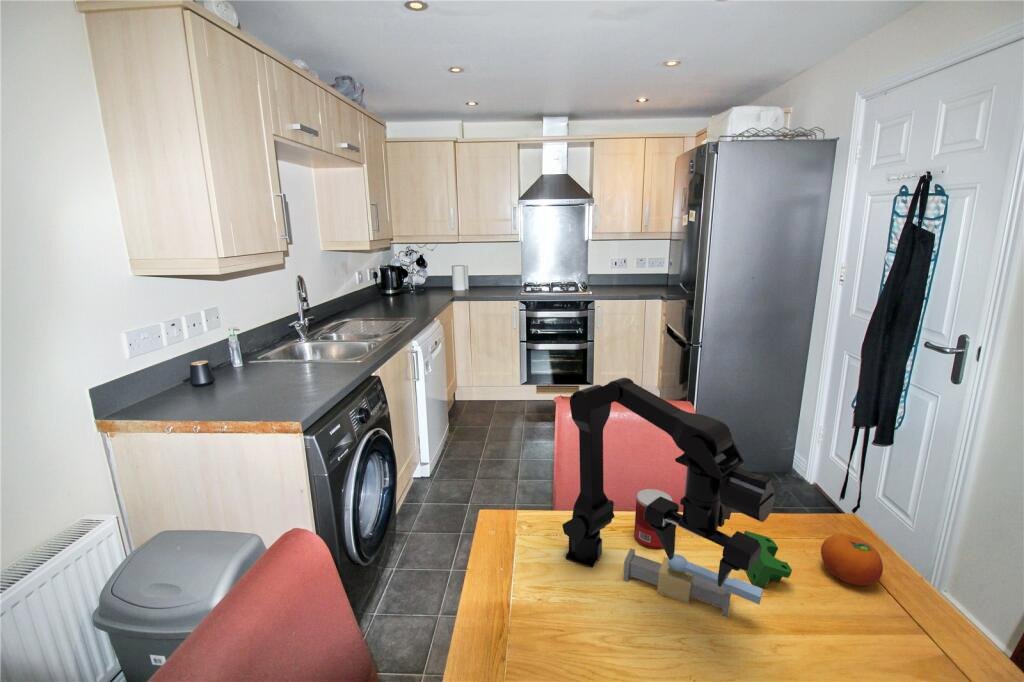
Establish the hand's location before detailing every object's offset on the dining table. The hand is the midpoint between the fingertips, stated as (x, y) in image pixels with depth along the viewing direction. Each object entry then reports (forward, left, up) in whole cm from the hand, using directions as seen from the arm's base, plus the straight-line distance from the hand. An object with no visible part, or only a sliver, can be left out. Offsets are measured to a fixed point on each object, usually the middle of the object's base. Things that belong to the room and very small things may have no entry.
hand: (694, 571), depth 83 cm
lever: (+3, +7, -7) cm, 10 cm away
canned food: (-12, +22, -12) cm, 28 cm away
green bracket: (+11, +23, -12) cm, 28 cm away
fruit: (+27, +30, -12) cm, 42 cm away
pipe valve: (-4, +8, -12) cm, 15 cm away
